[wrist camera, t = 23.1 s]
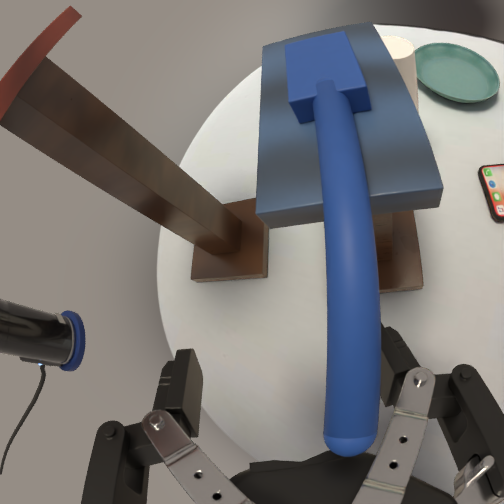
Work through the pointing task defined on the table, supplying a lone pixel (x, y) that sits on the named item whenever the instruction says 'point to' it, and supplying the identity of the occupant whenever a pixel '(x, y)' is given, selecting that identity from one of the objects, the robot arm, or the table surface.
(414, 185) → the blue-topped display stand
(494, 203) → the smartphone
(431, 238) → the table surface
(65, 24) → the wooden pedestal stand
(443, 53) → the saucer
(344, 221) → the blue rod with block
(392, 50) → the tube
